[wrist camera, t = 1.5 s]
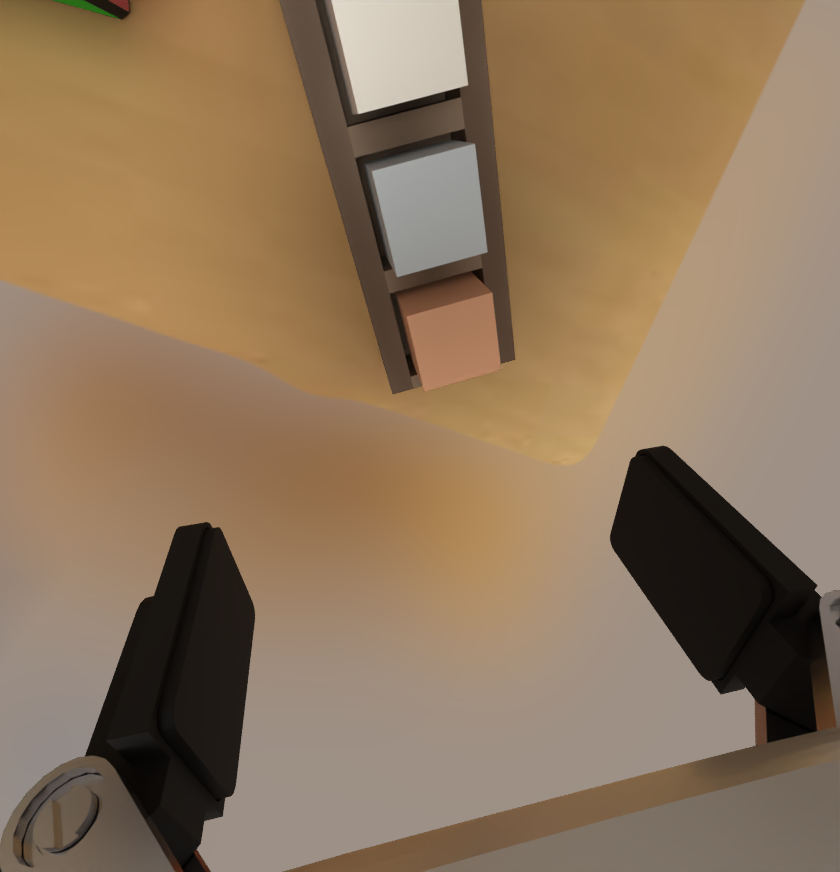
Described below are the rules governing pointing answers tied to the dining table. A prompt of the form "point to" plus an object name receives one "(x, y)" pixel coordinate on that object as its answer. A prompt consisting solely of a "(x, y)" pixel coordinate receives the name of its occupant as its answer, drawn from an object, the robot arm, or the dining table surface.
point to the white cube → (396, 49)
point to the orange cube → (450, 329)
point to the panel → (390, 135)
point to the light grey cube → (428, 205)
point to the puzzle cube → (102, 6)
